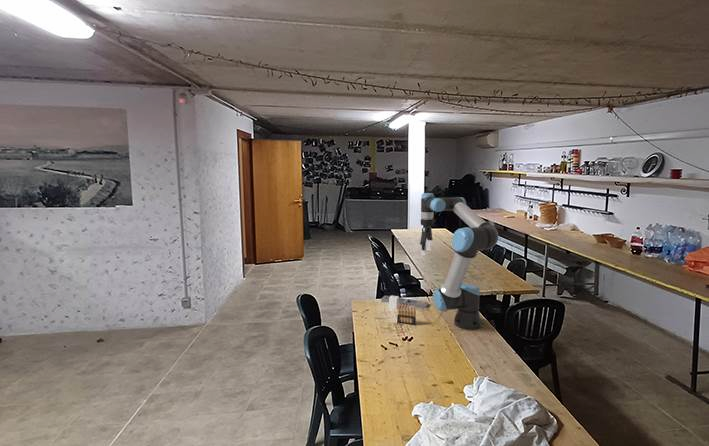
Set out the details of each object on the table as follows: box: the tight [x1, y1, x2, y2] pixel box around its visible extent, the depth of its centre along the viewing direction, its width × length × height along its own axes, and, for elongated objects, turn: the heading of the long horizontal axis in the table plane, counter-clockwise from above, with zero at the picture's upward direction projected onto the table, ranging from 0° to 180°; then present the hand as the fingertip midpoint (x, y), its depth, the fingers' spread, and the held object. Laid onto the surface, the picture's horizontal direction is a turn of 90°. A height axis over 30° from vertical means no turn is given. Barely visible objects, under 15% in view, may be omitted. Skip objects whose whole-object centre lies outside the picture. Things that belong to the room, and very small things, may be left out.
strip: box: [380, 295, 447, 312], centre depth 254 cm, size 42×7×4 cm, turn 66°
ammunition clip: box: [396, 303, 417, 326], centre depth 226 cm, size 11×2×12 cm, turn 71°
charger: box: [388, 295, 400, 310], centre depth 248 cm, size 5×4×8 cm
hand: (426, 252), depth 242 cm, fingers open, 13 cm apart
